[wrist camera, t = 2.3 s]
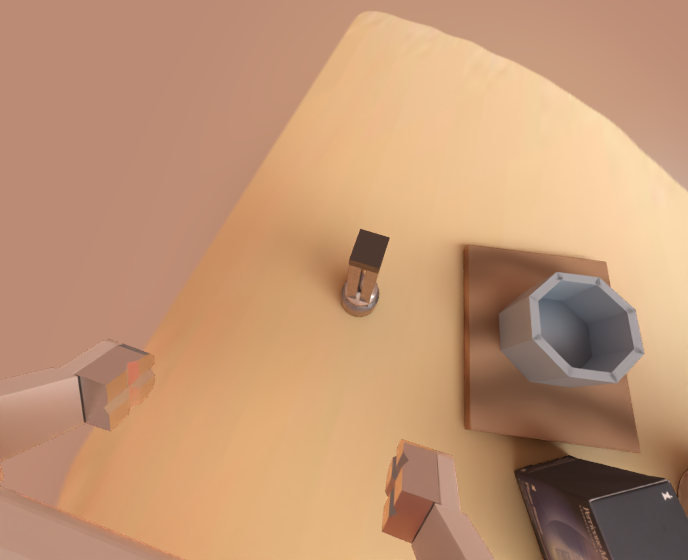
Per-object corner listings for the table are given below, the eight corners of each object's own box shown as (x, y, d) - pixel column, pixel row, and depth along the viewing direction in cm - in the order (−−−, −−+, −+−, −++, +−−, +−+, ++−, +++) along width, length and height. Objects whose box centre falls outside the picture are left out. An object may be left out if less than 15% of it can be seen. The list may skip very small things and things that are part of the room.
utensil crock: (597, 391, 33) (651, 387, 27) (501, 378, 33) (535, 372, 28) (584, 300, 36) (629, 281, 31) (497, 289, 37) (526, 268, 31)
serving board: (627, 451, 32) (640, 453, 31) (464, 428, 33) (470, 429, 31) (596, 266, 40) (606, 261, 38) (463, 250, 40) (468, 244, 39)
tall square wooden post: (380, 289, 38) (401, 234, 26) (370, 321, 37) (387, 278, 24) (347, 279, 38) (353, 219, 26) (336, 310, 37) (336, 263, 25)
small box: (508, 469, 32) (585, 497, 22) (569, 453, 32) (671, 473, 22) (555, 608, 28) (674, 717, 18) (624, 587, 29) (775, 681, 19)
